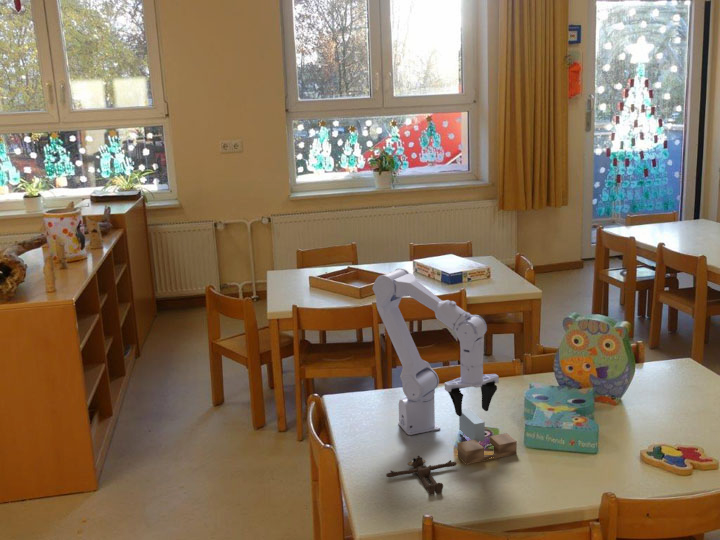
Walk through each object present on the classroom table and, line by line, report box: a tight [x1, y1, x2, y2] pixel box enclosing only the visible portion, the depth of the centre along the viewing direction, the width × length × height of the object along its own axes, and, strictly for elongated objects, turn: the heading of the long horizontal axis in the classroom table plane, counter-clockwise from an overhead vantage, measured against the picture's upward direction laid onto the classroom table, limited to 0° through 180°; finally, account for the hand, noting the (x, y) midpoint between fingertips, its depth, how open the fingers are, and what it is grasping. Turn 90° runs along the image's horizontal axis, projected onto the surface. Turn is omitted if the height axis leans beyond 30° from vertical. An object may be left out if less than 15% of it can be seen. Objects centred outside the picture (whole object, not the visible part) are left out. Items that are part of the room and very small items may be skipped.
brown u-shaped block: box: [456, 432, 518, 465], centre depth 191 cm, size 14×5×4 cm, turn 108°
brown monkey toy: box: [385, 455, 457, 496], centre depth 181 cm, size 18×4×14 cm
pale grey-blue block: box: [458, 407, 486, 442], centre depth 198 cm, size 3×9×7 cm, turn 18°
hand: (471, 412), depth 197 cm, fingers open, 7 cm apart
